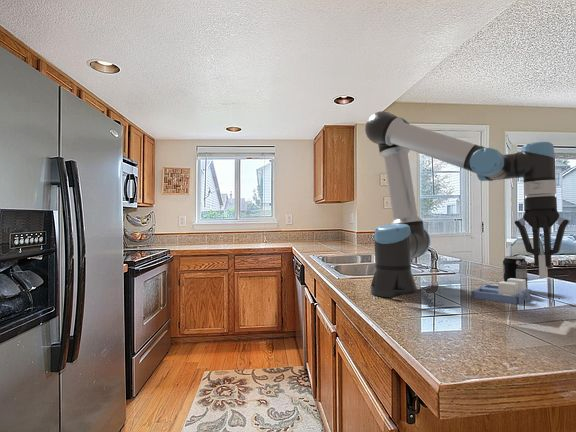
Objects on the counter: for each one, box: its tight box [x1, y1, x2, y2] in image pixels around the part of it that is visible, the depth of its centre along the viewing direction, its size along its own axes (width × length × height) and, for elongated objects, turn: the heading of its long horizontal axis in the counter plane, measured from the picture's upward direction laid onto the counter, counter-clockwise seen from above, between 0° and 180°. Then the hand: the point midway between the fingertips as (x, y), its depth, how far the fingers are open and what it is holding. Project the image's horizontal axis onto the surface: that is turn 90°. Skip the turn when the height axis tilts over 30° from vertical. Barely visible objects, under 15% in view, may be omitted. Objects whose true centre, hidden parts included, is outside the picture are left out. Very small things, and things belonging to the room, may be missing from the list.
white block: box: [497, 280, 518, 296], centre depth 97 cm, size 4×4×5 cm
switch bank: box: [471, 283, 531, 305], centre depth 102 cm, size 12×14×3 cm
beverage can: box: [502, 255, 529, 289], centre depth 111 cm, size 7×7×12 cm
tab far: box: [507, 278, 526, 292], centre depth 102 cm, size 4×4×5 cm
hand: (543, 277), depth 97 cm, fingers closed
